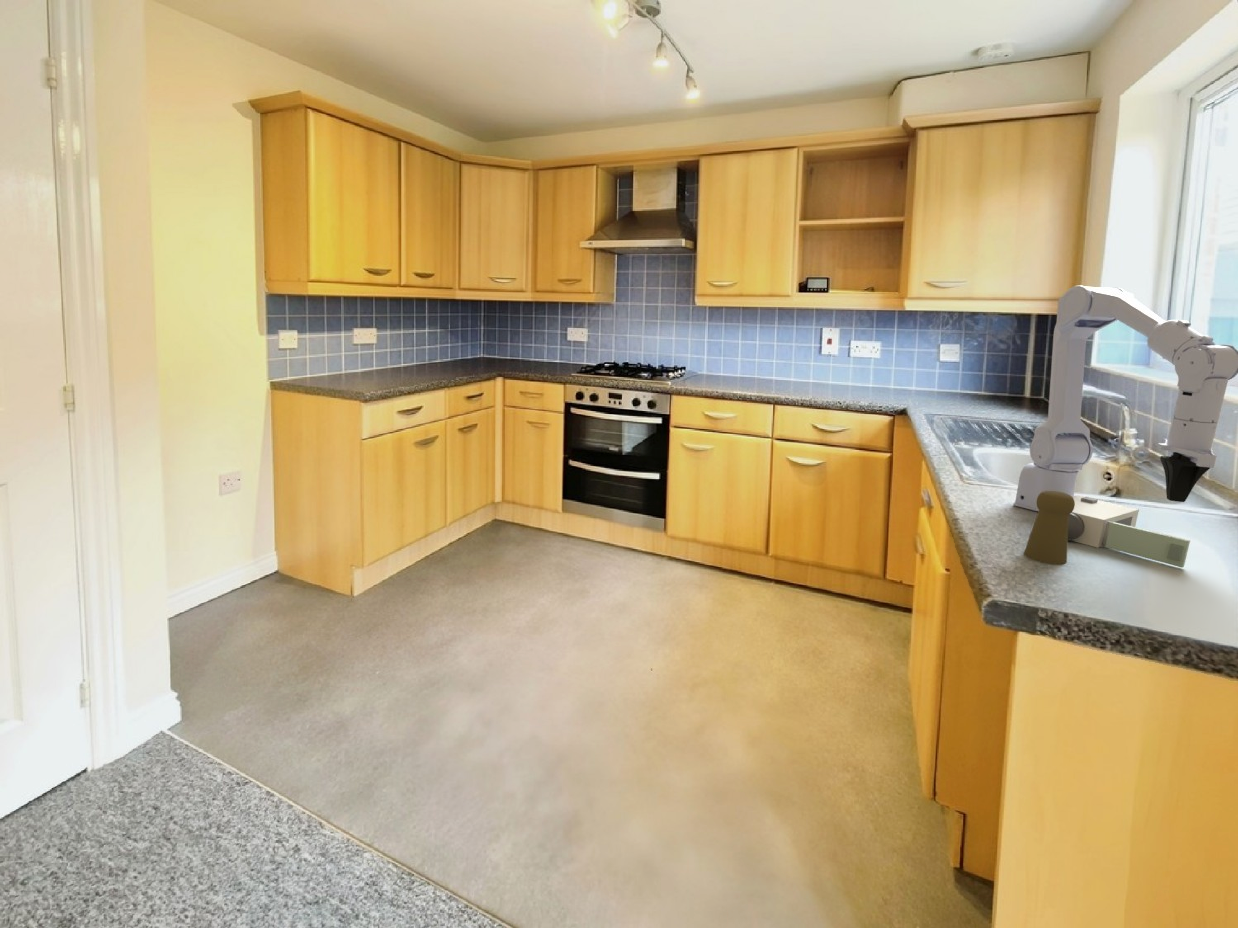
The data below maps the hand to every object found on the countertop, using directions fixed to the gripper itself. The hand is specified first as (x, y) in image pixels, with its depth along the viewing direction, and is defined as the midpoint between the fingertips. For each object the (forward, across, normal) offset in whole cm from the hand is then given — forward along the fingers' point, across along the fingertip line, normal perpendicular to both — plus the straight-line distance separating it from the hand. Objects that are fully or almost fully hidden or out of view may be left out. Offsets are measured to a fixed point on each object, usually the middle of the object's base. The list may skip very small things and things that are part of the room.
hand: (1175, 500), depth 116 cm
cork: (+10, +12, -20) cm, 25 cm away
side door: (+9, +5, -5) cm, 11 cm away
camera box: (+9, -7, -10) cm, 15 cm away
